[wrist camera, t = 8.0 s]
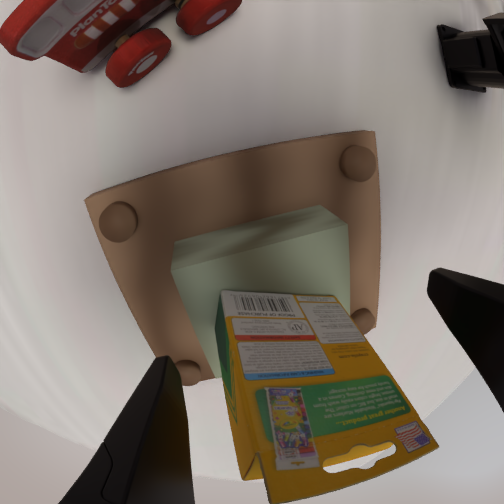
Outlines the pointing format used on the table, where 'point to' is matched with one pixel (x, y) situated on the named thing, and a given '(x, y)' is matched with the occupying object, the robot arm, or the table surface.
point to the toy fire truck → (104, 32)
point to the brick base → (230, 203)
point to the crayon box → (309, 395)
